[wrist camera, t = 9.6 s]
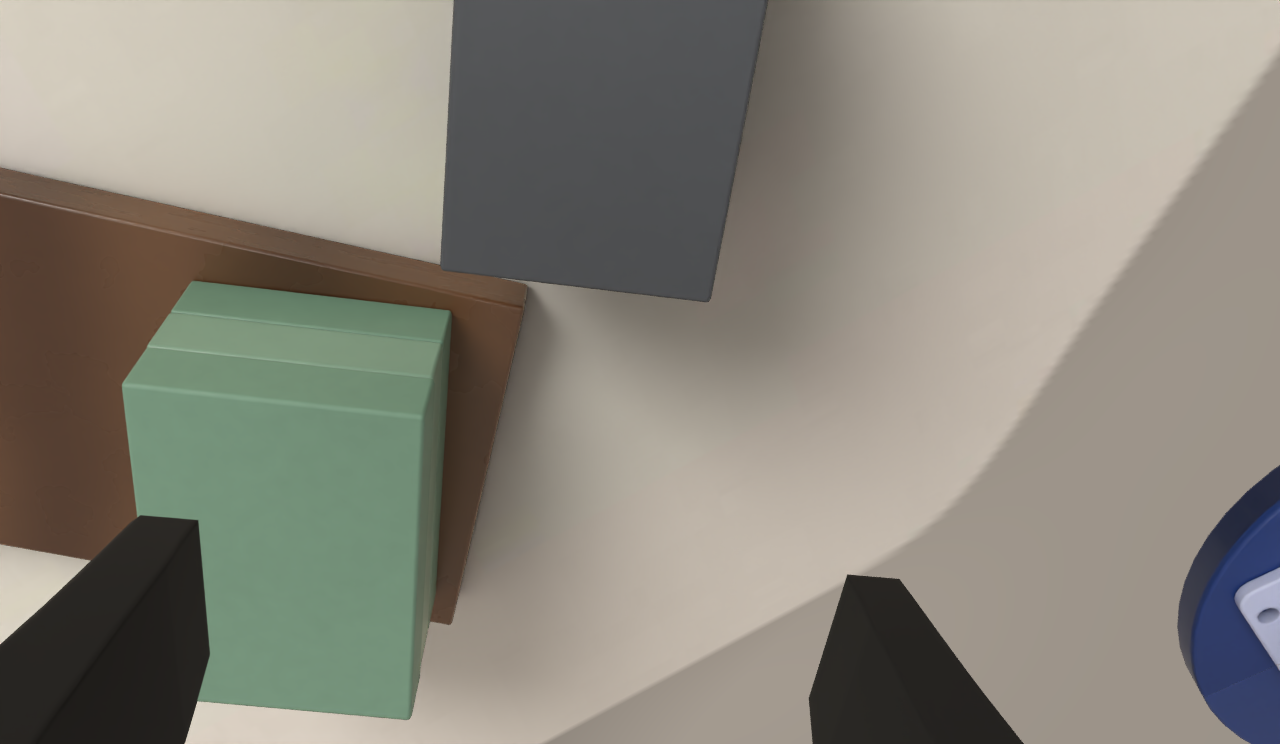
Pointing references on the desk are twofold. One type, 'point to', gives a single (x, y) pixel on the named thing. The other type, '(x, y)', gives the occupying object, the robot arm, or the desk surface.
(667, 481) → the desk surface
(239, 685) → the sage book
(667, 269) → the grey books
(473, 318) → the book ledge
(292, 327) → the green flat block
